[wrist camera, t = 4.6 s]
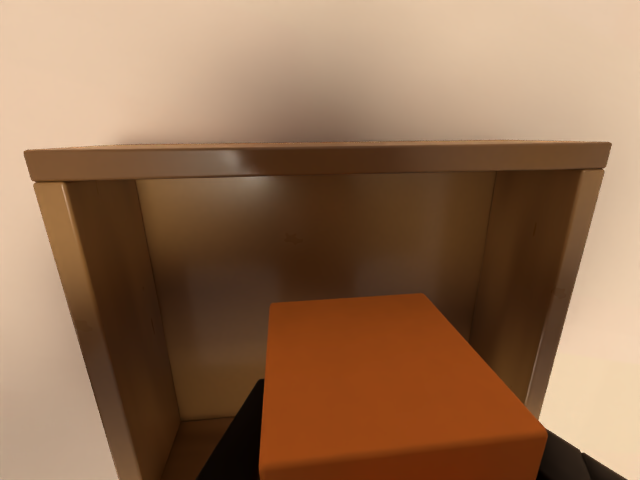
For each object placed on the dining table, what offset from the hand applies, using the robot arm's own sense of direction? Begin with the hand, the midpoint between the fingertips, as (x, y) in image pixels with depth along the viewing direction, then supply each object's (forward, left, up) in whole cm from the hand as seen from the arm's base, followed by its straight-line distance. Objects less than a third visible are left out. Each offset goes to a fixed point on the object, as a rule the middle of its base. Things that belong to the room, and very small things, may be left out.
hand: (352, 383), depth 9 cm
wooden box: (0, 0, -5) cm, 5 cm away
